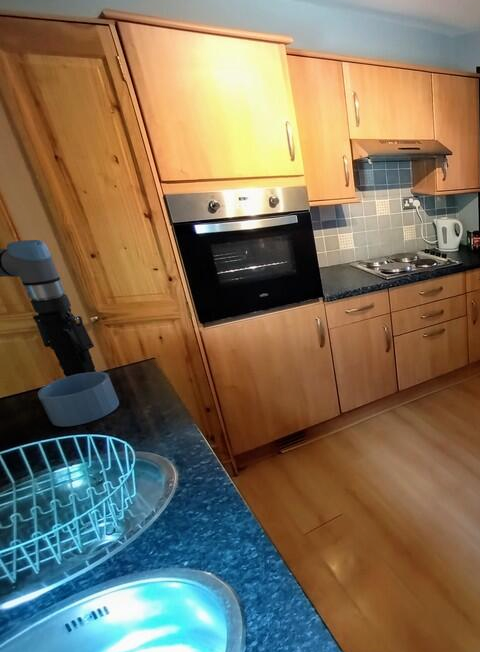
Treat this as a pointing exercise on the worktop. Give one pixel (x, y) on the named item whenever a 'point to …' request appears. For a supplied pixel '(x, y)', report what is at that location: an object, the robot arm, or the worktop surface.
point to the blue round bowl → (78, 398)
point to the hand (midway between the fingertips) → (78, 368)
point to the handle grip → (62, 343)
